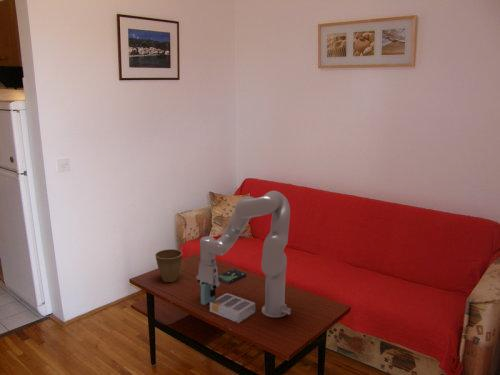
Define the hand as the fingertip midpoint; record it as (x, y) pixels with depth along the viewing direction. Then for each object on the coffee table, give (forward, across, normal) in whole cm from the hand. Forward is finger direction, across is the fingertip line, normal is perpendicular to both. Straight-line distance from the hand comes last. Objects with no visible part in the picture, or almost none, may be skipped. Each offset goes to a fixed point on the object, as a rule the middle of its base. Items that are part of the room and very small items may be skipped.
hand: (207, 293), depth 221 cm
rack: (+4, -17, +1) cm, 18 cm away
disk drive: (+5, +9, -30) cm, 32 cm away
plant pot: (+4, +35, -6) cm, 36 cm away
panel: (+4, 0, 0) cm, 4 cm away
